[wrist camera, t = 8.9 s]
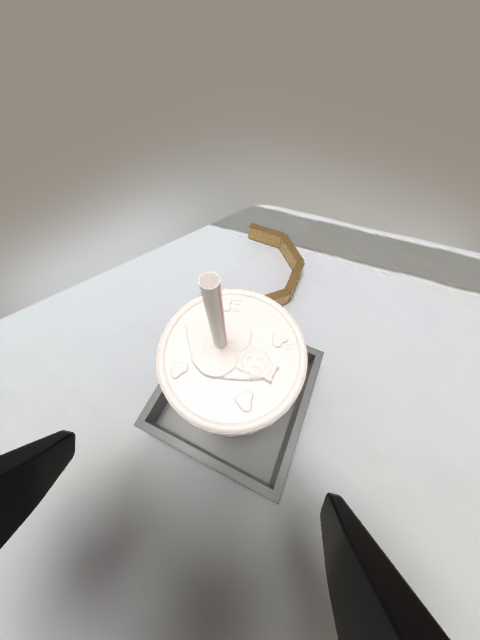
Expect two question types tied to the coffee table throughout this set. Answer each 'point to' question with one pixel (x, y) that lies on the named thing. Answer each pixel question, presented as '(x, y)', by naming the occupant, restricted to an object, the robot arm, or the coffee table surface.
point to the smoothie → (231, 360)
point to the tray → (237, 439)
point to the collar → (288, 252)
